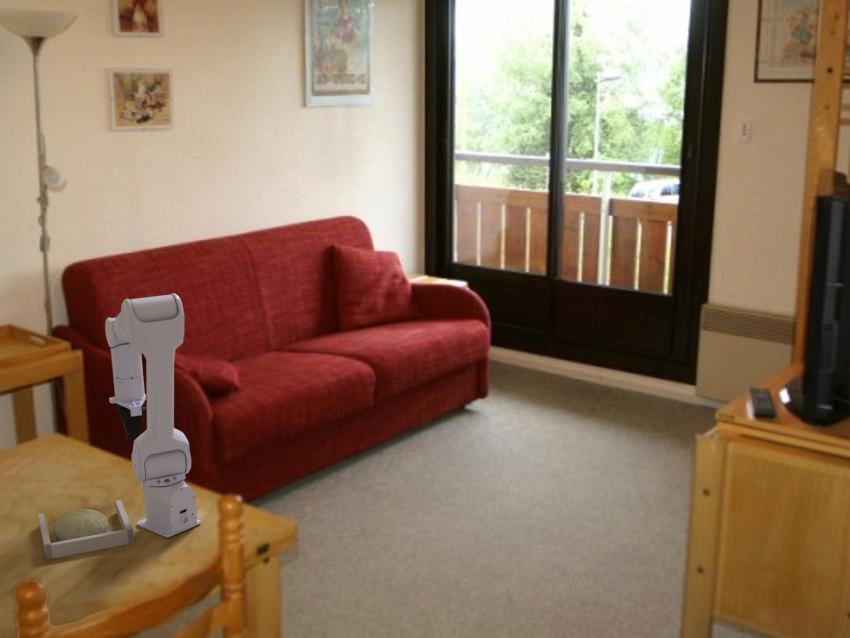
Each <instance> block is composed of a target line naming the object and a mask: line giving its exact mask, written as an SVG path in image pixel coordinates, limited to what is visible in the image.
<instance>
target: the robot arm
mask: <svg viewBox="0 0 850 638" xmlns="http://www.w3.org/2000/svg"><path fill="white" fill-rule="evenodd" d="M104 324H105V325H104V326H105V327H104V329H105V336H106V340H107V341H106V342H107V344H108V346H109V347H110V354H111V355H110V356H111V367H112V377H113V386H114V396H112V397H109V398H108V399H109V403H110V404H117V405H116V406H115V410H116V411H117V413H118V415H119V416H120V418H121V421H122V423H123V427H124V430H125V434H126V438H127V439H128V441H129V442H133V446H132V447H133V448H132V453H131V466H132V471H133V476H134V478H135V480H137V481H138V482H139V483H140V484H141V483H142V487H143V499H144V511H145V518H143V519H140V520H139V521H137V522H136V526H138V527H141V528H143V529H146V530H148V531H150V532H152V533H155V534H157V535H160V536H162V537H164V538H171V537H173V536H175V535H178V534H179V533H182V532H184V531H186V530H189V529H191V528H194V527H197V526H198V525H200V524H202V521H201V520H200V519H198V515H197V514H198V513H197V503H196V502H197V500H196V494H195V492H194V489H193V488H192V487H190V486H189V485H188V484H187V483H186V482H185V479H186V474H189V472H190V470H191V468H192V456H191V452H190V443H189V440H188V439H187V436H186V435H185V433H184V432H183V431H181V430H179V429H177V428H175V426H174V425H175V423H174V422H175V420H174V419H175V417H174V415H175V413H174V412H175V411H174V409H175V400H174V399H175V358H176V349H178V348H179V347H180V346H182V344H183V343H184V337H185V313H184V306H183V302H182V300H181V298H180V297H179V295H177V294H176V293H174V292H173V293H170V294H167V295H157V296H147V297H140V298H131V299H130V298H125V299H124V300H123V301H122V303H121V307H120V312H119V313H118V314H117V316H116V317H106V320H105V323H104ZM142 354H143V355H144V358H145V359H146V360H145V361H146V363H145V364H146V366H145V367H146V393H145V382H144V374H143V373H144V371H143V360H142ZM145 401H146V403H145ZM145 415H146V430H145V431H143V432H142V426H143V425H142V424H143V421H144V417H145Z"/></svg>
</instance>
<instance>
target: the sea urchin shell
mask: <svg viewBox="0 0 850 638" xmlns="http://www.w3.org/2000/svg"><path fill="white" fill-rule="evenodd" d="M54 527H55V528H54V531H55V536H56V539H57V540H58V541H59V542H60V541H65V540H71V539H76V538H82V537H87V536H92V535H98V534H103V533H108V530H109V527H110V524H109V520H108V518H107V516H106V515H105V514H103V513H101V512H100V511H98V510H94V509H90V508H80V509H79V508H78V509H73V510H70V511H68V512H65V513H64V514H62V515H61V516H60V517H59V518H58V520H57V521H56V524H55V525H54Z"/></svg>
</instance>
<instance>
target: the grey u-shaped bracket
mask: <svg viewBox="0 0 850 638" xmlns="http://www.w3.org/2000/svg"><path fill="white" fill-rule="evenodd" d="M115 511H116V513H115V514H116V516H117V518H118V520H119V523H120V525H121V529H119V530H114V531H107V532H106V533H103V534H98V535H92V536H87V537H82V538H76V539H71V540H65V541H60V540H59V541H55V542H51V539H50V534H49V528H48V526H47V521H46V517H45V514H44V513H38V514H37V516H38V517H37V518H38V524H39V530H40V536H41V540H42V544H43V548H44V549H43V550H44V555H45V558H46V560H47V561H48V560H53V559H58V558H63V557H67V556H75V555H79V554H85V553H88V552H89V553H90V552H94V551H95V552H96V551H99V550H105V549H111V548H116V547H120V546H127V545H131V544H135V535H134V534H135V533H134V529H133V527H132V525H131V521H130V519H129V517H128V514H127V512H126V510H125V507H124V505H123V501H122V499H118V500H115Z"/></svg>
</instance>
